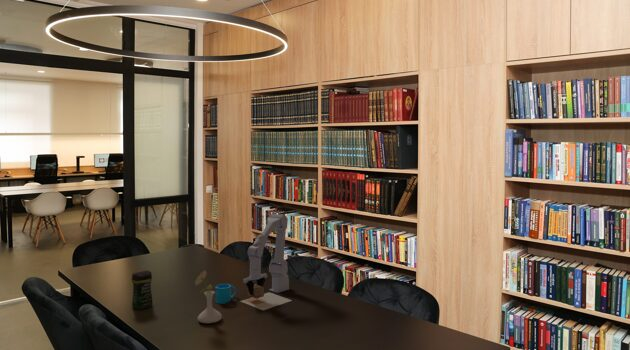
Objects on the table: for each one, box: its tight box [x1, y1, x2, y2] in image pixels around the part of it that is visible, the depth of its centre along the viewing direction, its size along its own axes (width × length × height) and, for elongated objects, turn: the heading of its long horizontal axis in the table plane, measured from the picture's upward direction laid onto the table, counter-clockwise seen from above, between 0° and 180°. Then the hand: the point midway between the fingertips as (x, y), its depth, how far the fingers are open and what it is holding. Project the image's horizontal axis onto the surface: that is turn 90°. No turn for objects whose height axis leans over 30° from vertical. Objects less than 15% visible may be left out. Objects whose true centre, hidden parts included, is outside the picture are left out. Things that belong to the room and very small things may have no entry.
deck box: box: [246, 283, 265, 299], centre depth 244 cm, size 8×5×5 cm, turn 46°
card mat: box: [240, 291, 293, 311], centre depth 244 cm, size 20×19×1 cm
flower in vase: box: [194, 270, 223, 324], centre depth 217 cm, size 13×11×25 cm
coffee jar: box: [131, 270, 153, 310], centre depth 236 cm, size 10×8×19 cm
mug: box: [215, 283, 237, 305], centre depth 247 cm, size 12×8×8 cm
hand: (255, 293), depth 244 cm, fingers closed on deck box, 5 cm apart
